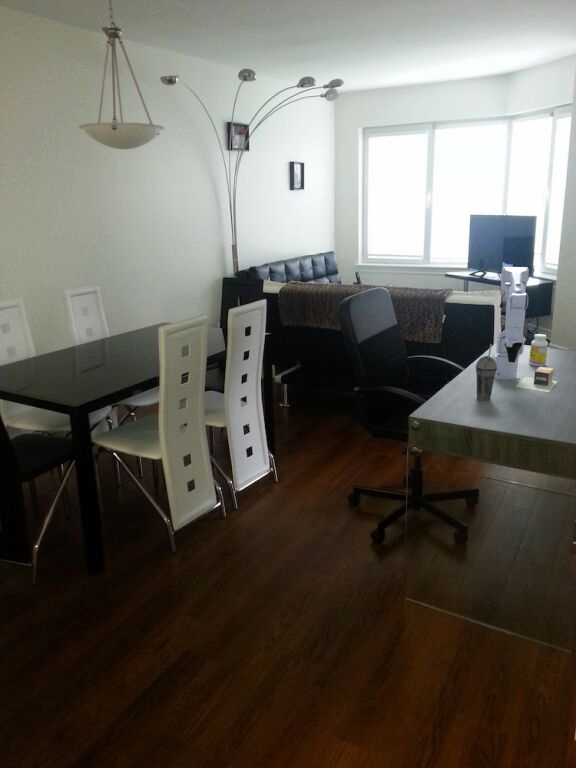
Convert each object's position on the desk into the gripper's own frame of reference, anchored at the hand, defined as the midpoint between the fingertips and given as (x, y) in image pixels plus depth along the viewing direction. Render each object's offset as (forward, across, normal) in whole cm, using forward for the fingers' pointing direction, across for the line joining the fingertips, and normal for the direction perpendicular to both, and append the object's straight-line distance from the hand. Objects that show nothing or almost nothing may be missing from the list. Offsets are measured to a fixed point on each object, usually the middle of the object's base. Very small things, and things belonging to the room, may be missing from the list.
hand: (511, 361), depth 229 cm
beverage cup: (+10, -19, +4) cm, 22 cm away
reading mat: (+10, +8, -8) cm, 15 cm away
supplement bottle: (+10, +39, -2) cm, 40 cm away
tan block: (+7, +8, -10) cm, 14 cm away
